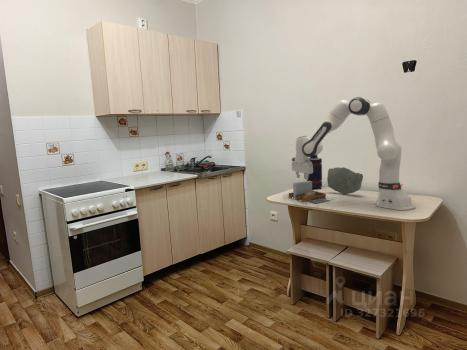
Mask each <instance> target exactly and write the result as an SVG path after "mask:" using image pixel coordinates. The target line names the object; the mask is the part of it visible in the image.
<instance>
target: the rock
mask: <svg viewBox="0 0 467 350" xmlns="http://www.w3.org/2000/svg"><path fill="white" fill-rule="evenodd" d="M363 179H364V175H363V173H359V172H355V171H353V170H351V169H350V168H346V167H344V166H343V167H333V168H331V167H330V168H329V169H328V170H327V179H326V180H327V181H326V182H327V186H328V187H329V188H330V189H332V190H333V191H334V192H338V193H340V194H342V195H349V194H353V193H356V192H358V191H359V190H360V189H362V183H363V181H364V180H363Z"/></svg>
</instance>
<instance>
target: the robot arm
mask: <svg viewBox="0 0 467 350" xmlns="http://www.w3.org/2000/svg"><path fill="white" fill-rule="evenodd" d="M350 115H355V116H358V117H359V116H366V117H368V120H369V123H370V126H371V129H372V133H373V135H374V142H375V147H376V152H377V156H378V158H379V159H380V166H379V172H378V173H379V177H378V180H379V181H378V186H377V187H378V192H377V194H378V195H377V198H376V203H375V205H376V207H379V208H384V209H390V210H396V211H410V210H413V209H416V208H417V206H416V204H412V198H411V196H410V195H409V194H408V193H407V192H405V190H404V189H402V187H403V185H404V184H401V182H400V167H401V161H402V146H401V144H400V143H399V142H397V141H396V138H395V132H394V128H393V125H392V121H391V119H390V116H389V113H388V111H387V108H386V106H385V105H384V103H382V102H374V103H372V102H370V100H368V99H367V98H365V97H361V96H356V97H353V98H352V99H351V100H347V99H341V100H339V101H338V102H337V103H336V104H335V105H334V106H333V107H332V109H331V110H330V111H329V112H328V114H327V116H326V117H325V119H324V121H323V122H322V124H321V125H320V127H319V128H318V129H317V130H316V131H315V133H314V134H313V135H312V137H311V138H310V137H309V136H308V135H302V136H299V137H297V138H296V140H295V152H296V153H295V157H292V158H291V170H292V171H293V172H295V176H296V178H297V179H300V178H301V176H300V173H302V174H304V173H305V178H304V180H306V181H307V180H308V176H309V174H312V173H313V165H312V162H311V161H310V160H309V158H310V157H312V156H314V155H317V154H318V155H319V154H320V153H322V151H323V144H322V143H321V142H322V141H323V140H324V139H325V137H326V136H328V134H330V133H331V132H333V131H335V130H337V129H339V127H341V126H342V124H343V123H344V122H345V120H346V119H347V118H348V117H349V116H350ZM318 155H317V156H318Z"/></svg>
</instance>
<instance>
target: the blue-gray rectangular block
mask: <svg viewBox="0 0 467 350" xmlns="http://www.w3.org/2000/svg"><path fill="white" fill-rule="evenodd" d="M292 190H293V191H292V192H293V198H292V199H294V198H295V195H298V194H304V193H308V192H312V190H313V188H312V181H307V180H306V181H301V182H300V181H299V182H298V181H297V182H294V183H292Z"/></svg>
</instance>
